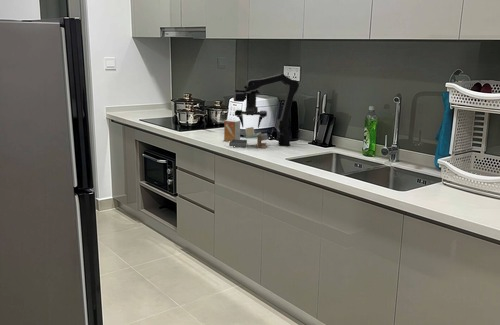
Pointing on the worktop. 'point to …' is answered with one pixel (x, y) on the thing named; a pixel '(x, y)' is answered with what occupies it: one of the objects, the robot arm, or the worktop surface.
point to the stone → (249, 131)
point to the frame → (259, 144)
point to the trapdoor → (263, 136)
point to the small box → (231, 130)
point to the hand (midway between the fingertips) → (250, 127)
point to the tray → (238, 143)
